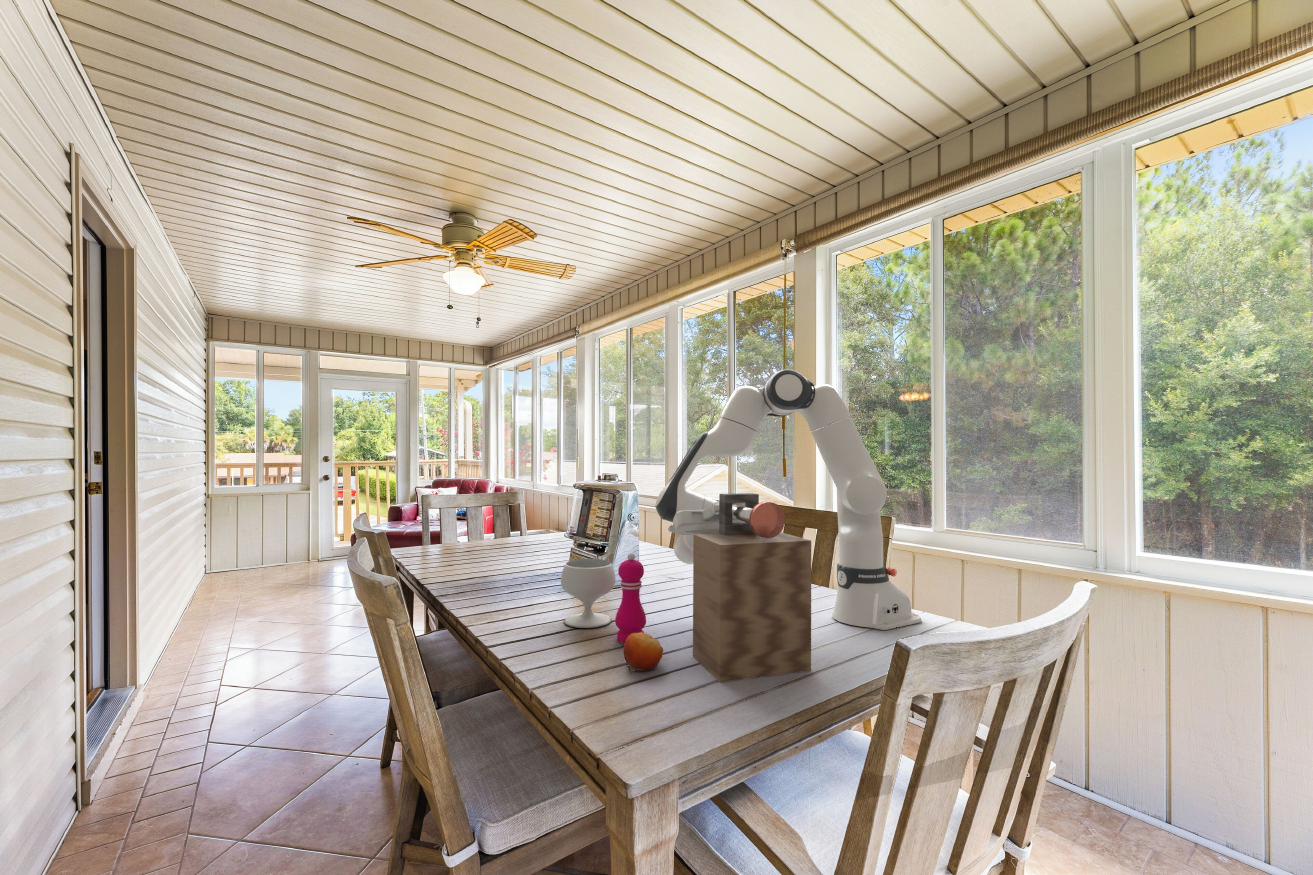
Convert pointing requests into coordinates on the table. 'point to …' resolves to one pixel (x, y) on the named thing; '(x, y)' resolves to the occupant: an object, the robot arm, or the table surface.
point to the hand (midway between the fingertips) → (725, 507)
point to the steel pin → (761, 518)
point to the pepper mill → (630, 599)
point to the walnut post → (750, 599)
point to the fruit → (642, 652)
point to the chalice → (588, 589)
